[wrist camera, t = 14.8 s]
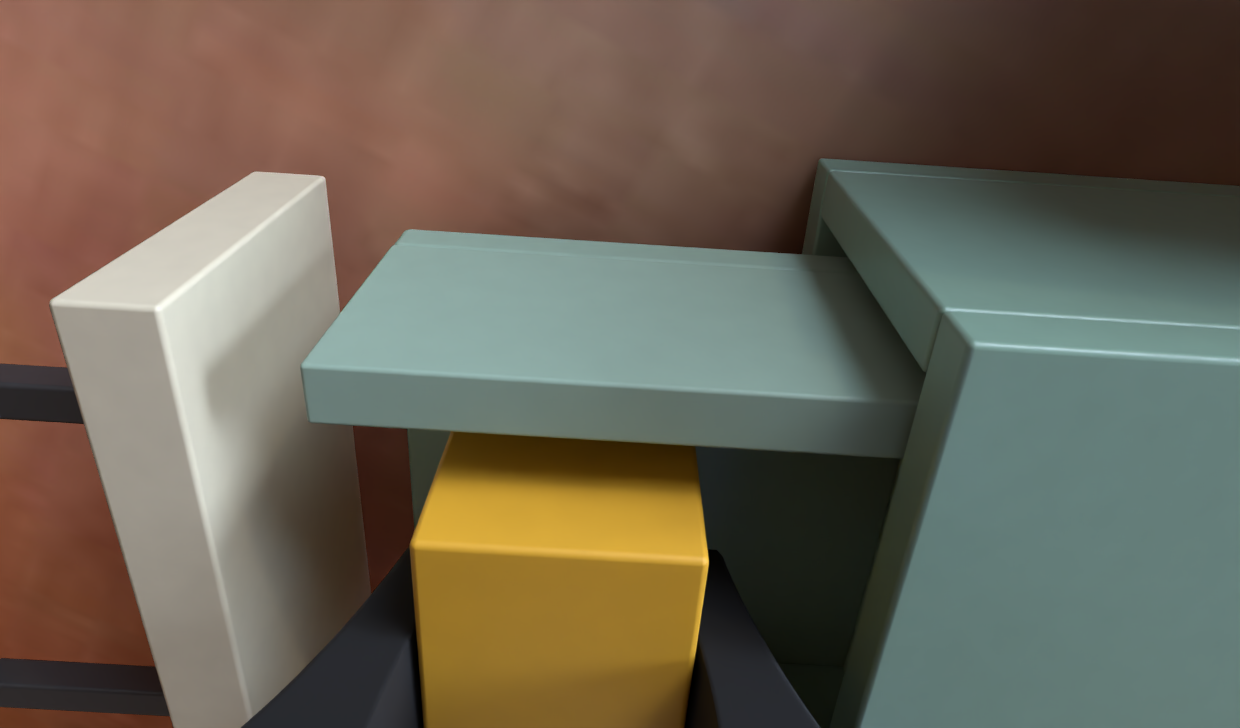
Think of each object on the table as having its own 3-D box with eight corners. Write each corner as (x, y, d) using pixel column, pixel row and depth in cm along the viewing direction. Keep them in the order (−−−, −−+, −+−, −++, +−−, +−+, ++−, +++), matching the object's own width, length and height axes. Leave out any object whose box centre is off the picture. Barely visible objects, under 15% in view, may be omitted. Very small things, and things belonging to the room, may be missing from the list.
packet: (657, 658, 15) (664, 873, 12) (478, 648, 15) (432, 861, 12) (689, 385, 13) (710, 561, 9) (470, 371, 13) (407, 543, 9)
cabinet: (730, 656, 20) (775, 998, 13) (818, 157, 14) (970, 342, 8) (1266, 686, 20) (1560, 1037, 13) (1568, 206, 14) (2316, 427, 8)
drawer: (74, 630, 18) (-118, 872, 14) (-95, 147, 13) (-498, 267, 8) (853, 674, 18) (927, 926, 14) (982, 217, 13) (1168, 370, 9)
